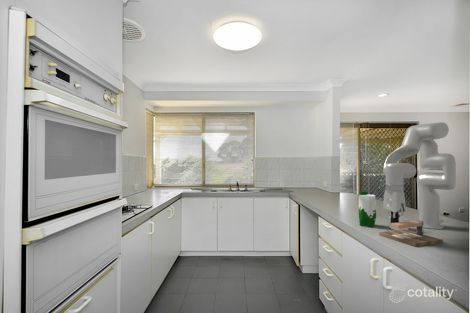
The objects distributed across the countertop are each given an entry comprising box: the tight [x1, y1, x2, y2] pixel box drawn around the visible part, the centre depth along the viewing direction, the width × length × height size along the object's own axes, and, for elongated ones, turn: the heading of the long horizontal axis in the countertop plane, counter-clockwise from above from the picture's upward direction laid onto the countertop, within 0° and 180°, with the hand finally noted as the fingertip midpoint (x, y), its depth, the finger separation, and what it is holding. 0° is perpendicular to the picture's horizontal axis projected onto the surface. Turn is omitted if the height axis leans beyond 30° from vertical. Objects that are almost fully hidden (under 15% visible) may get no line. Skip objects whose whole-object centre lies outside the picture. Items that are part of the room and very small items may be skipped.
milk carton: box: [358, 190, 377, 228], centre depth 145 cm, size 9×9×20 cm
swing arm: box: [390, 220, 424, 229], centre depth 119 cm, size 19×4×2 cm, turn 110°
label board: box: [378, 226, 444, 248], centre depth 120 cm, size 18×18×6 cm
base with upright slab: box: [388, 211, 410, 231], centre depth 138 cm, size 9×9×12 cm
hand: (394, 225), depth 122 cm, fingers closed
